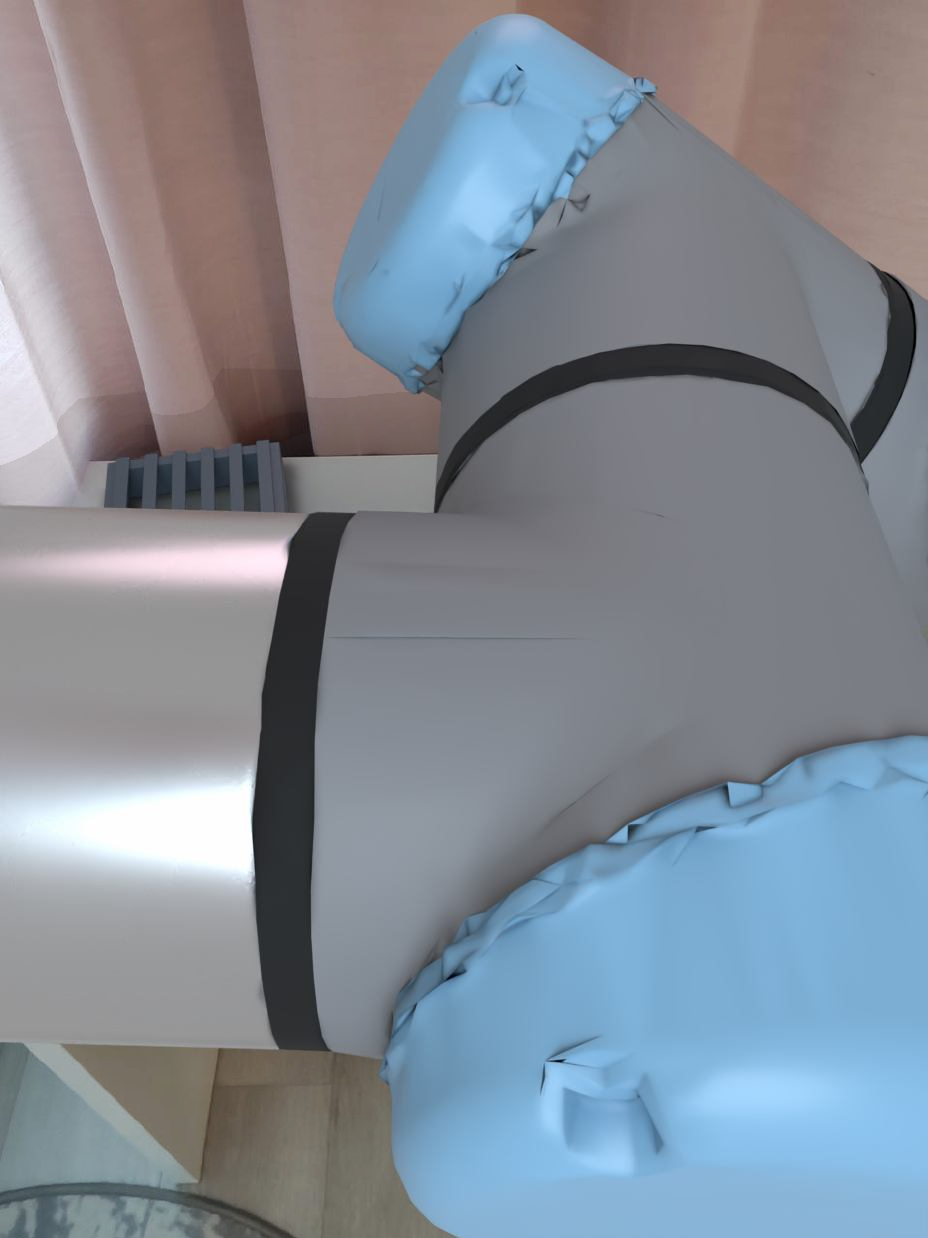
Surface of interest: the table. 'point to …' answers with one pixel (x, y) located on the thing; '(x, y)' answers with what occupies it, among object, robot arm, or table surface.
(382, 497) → the table surface
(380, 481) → the table surface
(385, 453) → the table surface
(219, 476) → the dish rack
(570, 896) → the robot arm
